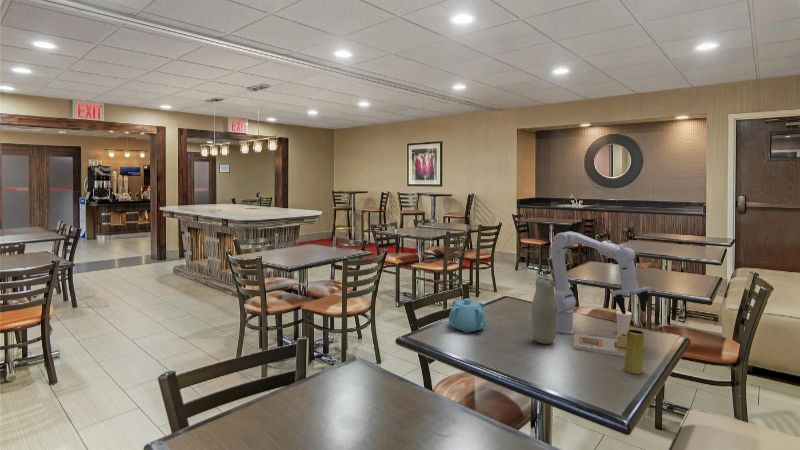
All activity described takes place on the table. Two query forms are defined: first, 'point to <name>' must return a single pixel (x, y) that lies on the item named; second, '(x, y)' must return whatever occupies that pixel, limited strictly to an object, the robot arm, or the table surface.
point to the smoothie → (623, 321)
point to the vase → (634, 352)
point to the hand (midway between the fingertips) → (633, 312)
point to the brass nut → (621, 340)
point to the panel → (604, 345)
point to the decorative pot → (467, 315)
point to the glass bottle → (544, 311)
